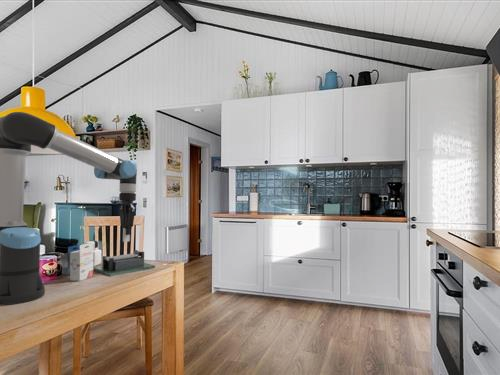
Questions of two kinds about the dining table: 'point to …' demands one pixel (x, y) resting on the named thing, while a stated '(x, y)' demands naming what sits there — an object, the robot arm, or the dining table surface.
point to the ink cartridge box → (81, 263)
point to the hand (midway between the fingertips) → (126, 241)
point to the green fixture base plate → (123, 265)
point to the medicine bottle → (95, 253)
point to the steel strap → (125, 256)
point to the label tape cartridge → (68, 259)
